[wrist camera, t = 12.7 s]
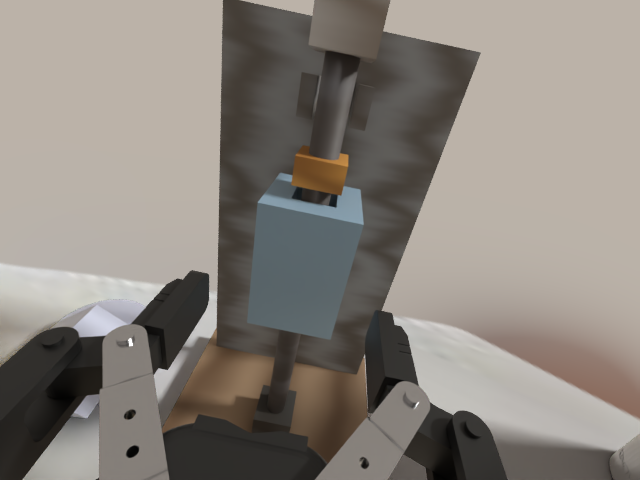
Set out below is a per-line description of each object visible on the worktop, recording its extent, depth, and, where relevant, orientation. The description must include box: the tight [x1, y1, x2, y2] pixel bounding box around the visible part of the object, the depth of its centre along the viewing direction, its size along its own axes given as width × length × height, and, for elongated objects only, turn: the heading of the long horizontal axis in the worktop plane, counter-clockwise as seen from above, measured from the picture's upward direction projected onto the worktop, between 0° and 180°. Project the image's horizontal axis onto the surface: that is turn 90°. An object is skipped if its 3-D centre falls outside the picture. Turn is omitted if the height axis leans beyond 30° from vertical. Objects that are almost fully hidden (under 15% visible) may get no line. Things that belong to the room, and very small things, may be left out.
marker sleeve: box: [247, 173, 364, 340], centre depth 18 cm, size 5×5×8 cm
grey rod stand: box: [162, 0, 480, 463], centre depth 20 cm, size 18×16×35 cm
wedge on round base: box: [50, 299, 146, 418], centre depth 29 cm, size 9×7×13 cm
